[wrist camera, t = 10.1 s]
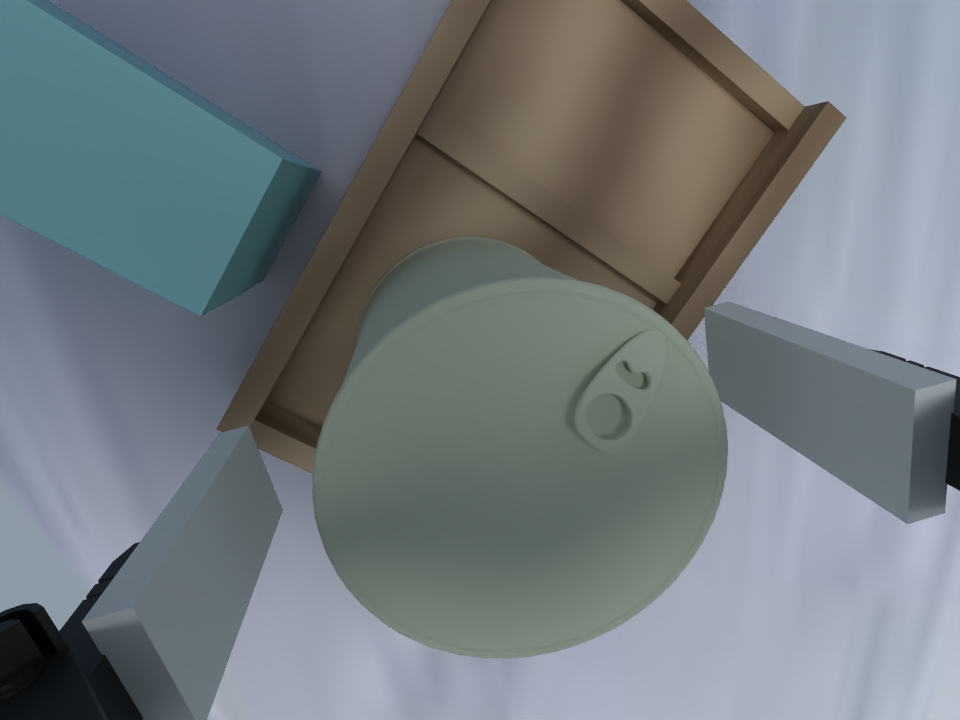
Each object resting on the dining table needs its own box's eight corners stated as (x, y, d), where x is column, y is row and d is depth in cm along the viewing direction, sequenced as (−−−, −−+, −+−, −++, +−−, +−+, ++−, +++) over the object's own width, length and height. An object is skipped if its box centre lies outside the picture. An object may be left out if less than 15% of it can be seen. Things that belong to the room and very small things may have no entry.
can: (617, 323, 23) (828, 444, 12) (489, 484, 24) (564, 733, 13) (444, 186, 20) (496, 169, 9) (311, 375, 22) (211, 567, 10)
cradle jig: (241, 398, 23) (216, 429, 20) (519, -105, 19) (541, -162, 16) (509, 527, 27) (522, 570, 24) (787, 128, 23) (846, 117, 20)
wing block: (-1, 136, 19) (-217, 102, 12) (53, 4, 18) (-147, -108, 12) (262, 280, 22) (200, 316, 15) (321, 171, 21) (282, 158, 14)
